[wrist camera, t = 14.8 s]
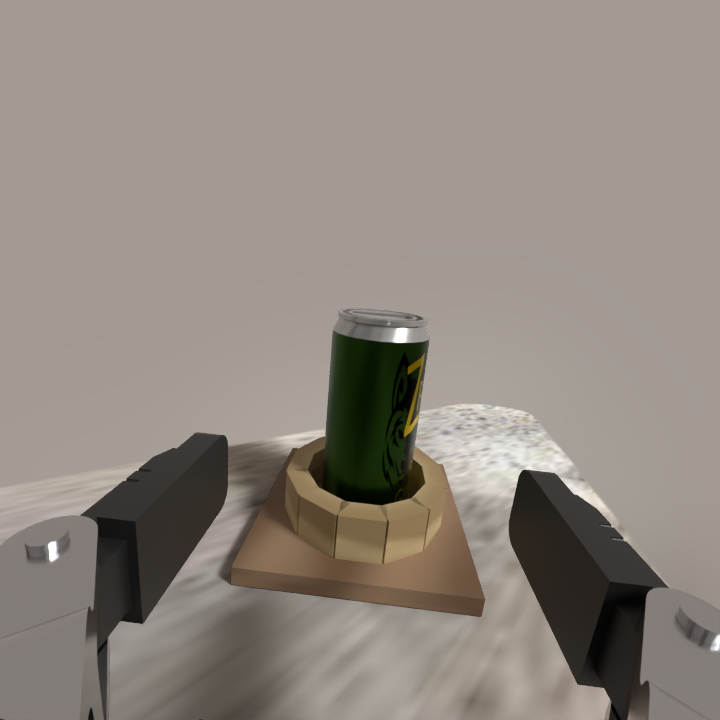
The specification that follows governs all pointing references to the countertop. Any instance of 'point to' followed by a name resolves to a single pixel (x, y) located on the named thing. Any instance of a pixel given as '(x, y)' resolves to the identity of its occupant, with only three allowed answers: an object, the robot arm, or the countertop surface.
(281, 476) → the socket board
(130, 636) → the countertop surface
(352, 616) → the countertop surface
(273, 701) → the countertop surface
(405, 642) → the countertop surface
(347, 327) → the beer can
